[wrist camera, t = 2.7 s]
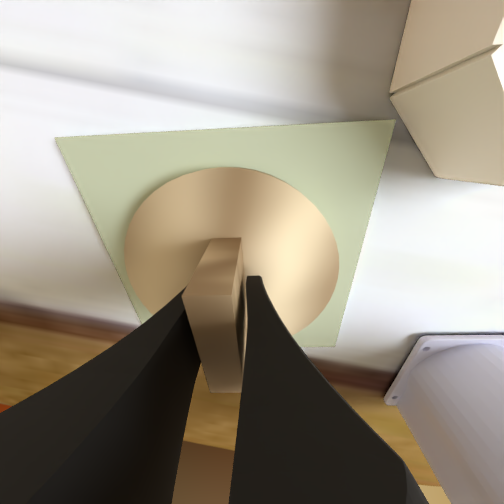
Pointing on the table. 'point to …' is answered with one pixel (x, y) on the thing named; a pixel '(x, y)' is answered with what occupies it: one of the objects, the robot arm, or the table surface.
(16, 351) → the table surface
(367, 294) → the table surface
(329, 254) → the lid
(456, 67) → the bowl
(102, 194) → the mat
